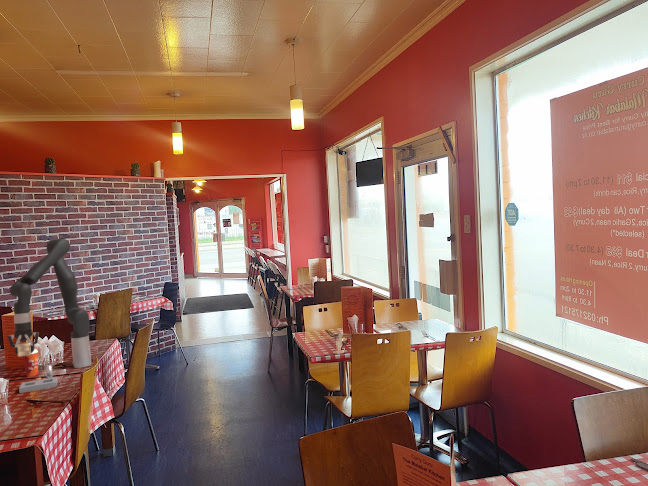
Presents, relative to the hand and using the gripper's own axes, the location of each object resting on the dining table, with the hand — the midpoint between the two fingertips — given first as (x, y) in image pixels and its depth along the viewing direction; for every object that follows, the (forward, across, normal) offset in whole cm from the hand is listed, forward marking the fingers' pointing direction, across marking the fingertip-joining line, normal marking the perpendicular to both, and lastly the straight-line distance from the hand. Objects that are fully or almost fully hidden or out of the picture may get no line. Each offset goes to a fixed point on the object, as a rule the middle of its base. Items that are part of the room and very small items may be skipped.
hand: (24, 353), depth 255 cm
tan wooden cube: (+1, 0, 0) cm, 1 cm away
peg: (+16, -11, 0) cm, 19 cm away
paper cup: (+16, 0, -17) cm, 23 cm away
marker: (+16, -4, -6) cm, 18 cm away
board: (+16, -7, +10) cm, 20 cm away
